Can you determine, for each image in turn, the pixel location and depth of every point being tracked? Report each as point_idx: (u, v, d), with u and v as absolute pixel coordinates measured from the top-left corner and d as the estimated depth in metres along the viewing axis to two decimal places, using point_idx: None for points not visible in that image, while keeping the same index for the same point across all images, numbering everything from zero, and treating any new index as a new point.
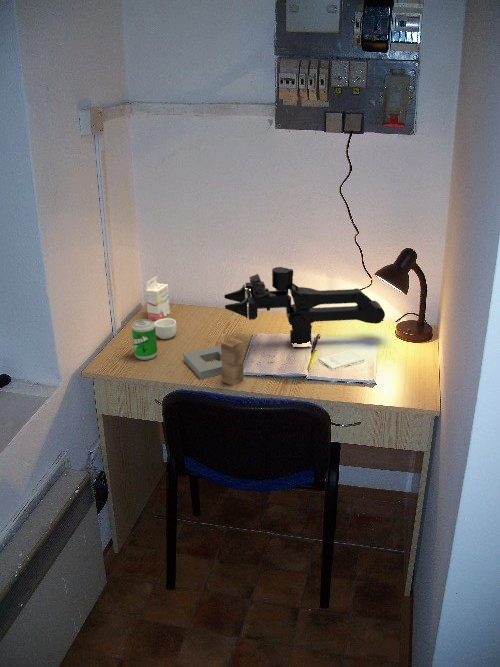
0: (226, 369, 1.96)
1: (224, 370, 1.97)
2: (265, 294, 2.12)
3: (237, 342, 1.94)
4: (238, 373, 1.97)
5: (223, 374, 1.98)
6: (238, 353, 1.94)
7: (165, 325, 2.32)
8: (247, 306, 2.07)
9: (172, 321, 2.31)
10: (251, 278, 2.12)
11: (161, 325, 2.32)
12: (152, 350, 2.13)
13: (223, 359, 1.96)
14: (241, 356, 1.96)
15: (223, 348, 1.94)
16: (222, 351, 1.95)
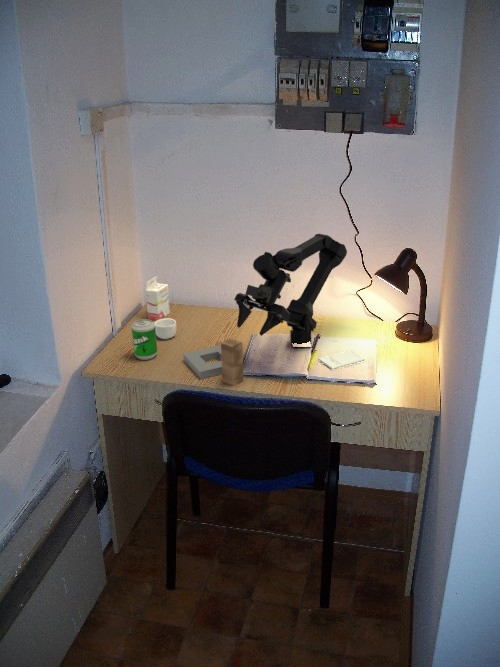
0: (226, 369, 1.96)
1: (224, 370, 1.97)
2: (270, 291, 1.98)
3: (237, 342, 1.94)
4: (238, 373, 1.97)
5: (223, 374, 1.98)
6: (238, 353, 1.94)
7: (165, 325, 2.32)
8: (277, 315, 1.95)
9: (172, 321, 2.31)
10: (251, 294, 1.95)
11: (161, 325, 2.32)
12: (152, 350, 2.13)
13: (223, 359, 1.96)
14: (241, 356, 1.96)
15: (223, 348, 1.94)
16: (222, 351, 1.95)
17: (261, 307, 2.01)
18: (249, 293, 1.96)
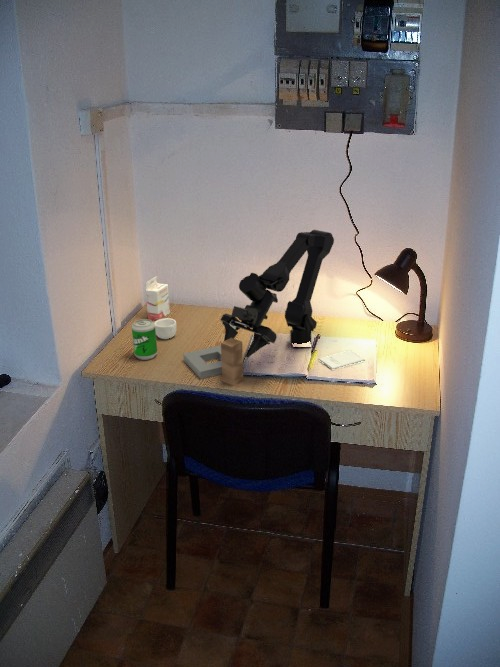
0: (226, 369, 1.96)
1: (224, 370, 1.97)
2: (257, 312, 1.96)
3: (237, 342, 1.94)
4: (238, 373, 1.97)
5: (223, 374, 1.98)
6: (238, 353, 1.94)
7: (165, 325, 2.32)
8: (264, 337, 1.93)
9: (172, 321, 2.31)
10: (237, 315, 1.93)
11: (161, 325, 2.32)
12: (152, 350, 2.13)
13: (223, 359, 1.96)
14: (241, 356, 1.96)
15: (223, 348, 1.94)
16: (222, 351, 1.95)
17: (247, 328, 1.98)
18: (235, 315, 1.93)
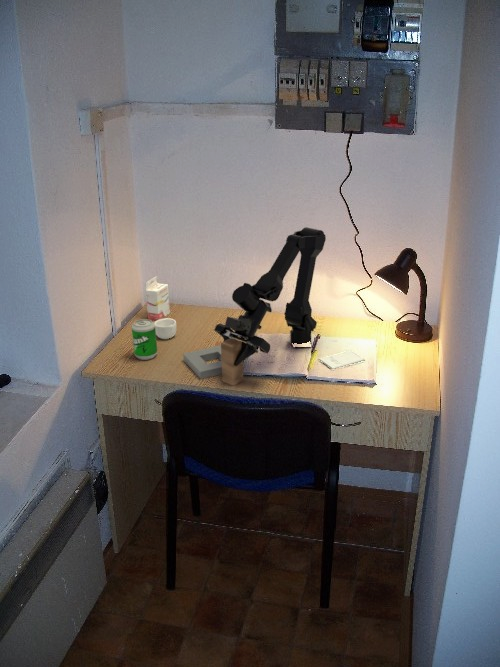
0: (226, 369, 1.96)
1: (224, 370, 1.97)
2: (250, 322, 1.95)
3: (237, 342, 1.94)
4: (238, 373, 1.97)
5: (223, 374, 1.98)
6: (238, 353, 1.94)
7: (165, 325, 2.32)
8: (252, 346, 1.93)
9: (172, 321, 2.31)
10: (230, 326, 1.92)
11: (161, 325, 2.32)
12: (152, 350, 2.13)
13: (223, 359, 1.96)
14: None
15: (223, 348, 1.94)
16: (222, 351, 1.95)
17: (241, 338, 1.97)
18: (228, 325, 1.92)
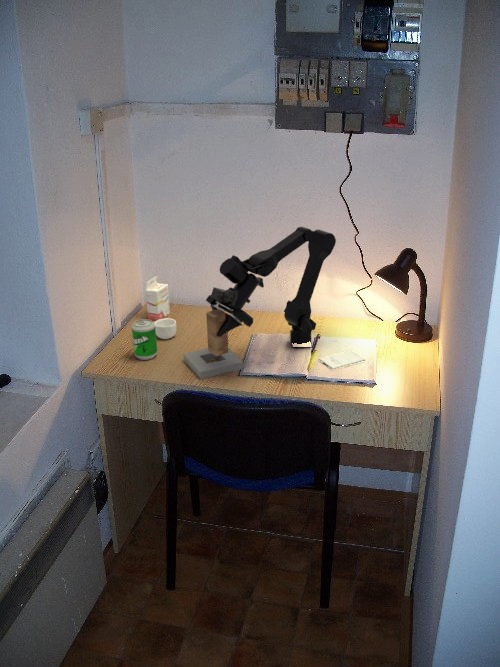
0: (210, 339, 2.00)
1: (209, 340, 2.01)
2: (236, 295, 1.97)
3: (221, 313, 1.97)
4: (222, 344, 2.00)
5: (208, 344, 2.02)
6: None
7: (165, 325, 2.32)
8: (234, 318, 1.95)
9: (172, 321, 2.31)
10: (214, 296, 1.95)
11: (161, 325, 2.32)
12: (152, 350, 2.13)
13: (208, 329, 1.99)
14: None
15: (208, 318, 1.98)
16: (207, 321, 1.99)
17: (228, 310, 1.99)
18: (213, 296, 1.95)
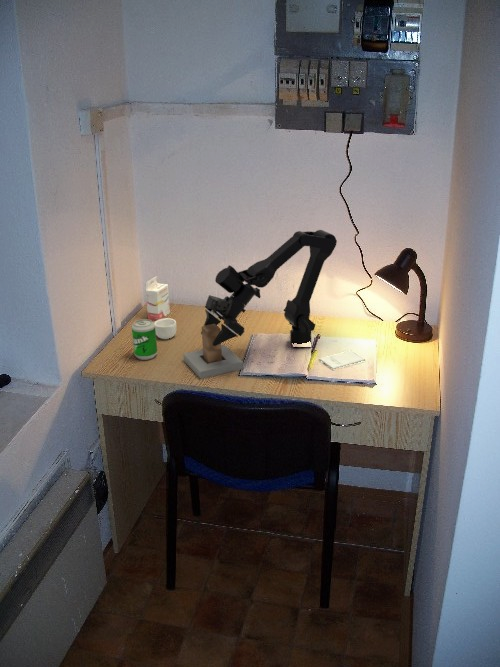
0: (205, 352, 2.07)
1: (204, 352, 2.08)
2: (230, 304, 2.02)
3: (215, 328, 2.04)
4: (215, 357, 2.07)
5: (203, 357, 2.09)
6: (215, 338, 2.04)
7: (165, 325, 2.32)
8: (229, 329, 1.98)
9: (172, 321, 2.31)
10: (208, 304, 2.01)
11: (161, 325, 2.32)
12: (152, 350, 2.13)
13: (203, 342, 2.07)
14: None
15: (203, 332, 2.05)
16: (202, 334, 2.06)
17: (223, 318, 2.05)
18: (207, 303, 2.01)
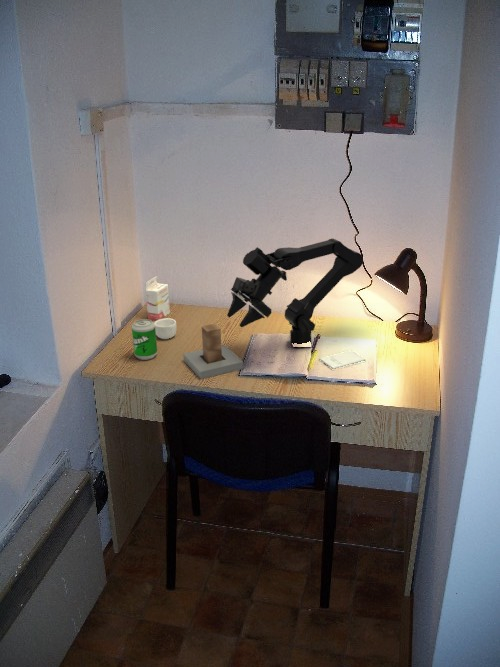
0: (205, 352, 2.07)
1: (204, 352, 2.08)
2: (258, 286, 2.04)
3: (215, 328, 2.04)
4: (215, 357, 2.07)
5: (203, 357, 2.09)
6: (215, 338, 2.04)
7: (165, 325, 2.32)
8: (257, 310, 2.00)
9: (172, 321, 2.31)
10: (236, 286, 2.03)
11: (161, 325, 2.32)
12: (152, 350, 2.13)
13: (203, 342, 2.07)
14: (219, 342, 2.05)
15: (203, 332, 2.05)
16: (202, 334, 2.06)
17: (249, 300, 2.07)
18: (235, 285, 2.03)
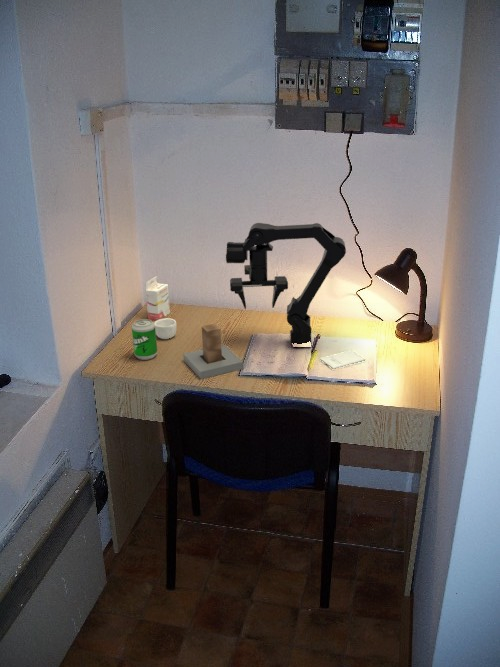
0: (205, 352, 2.07)
1: (204, 352, 2.08)
2: None
3: (215, 328, 2.04)
4: (215, 357, 2.07)
5: (203, 357, 2.09)
6: (215, 338, 2.04)
7: (165, 325, 2.32)
8: None
9: (172, 321, 2.31)
10: None
11: (161, 325, 2.32)
12: (152, 350, 2.13)
13: (203, 342, 2.07)
14: (219, 342, 2.05)
15: (203, 332, 2.05)
16: (202, 334, 2.06)
17: None
18: None
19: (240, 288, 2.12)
